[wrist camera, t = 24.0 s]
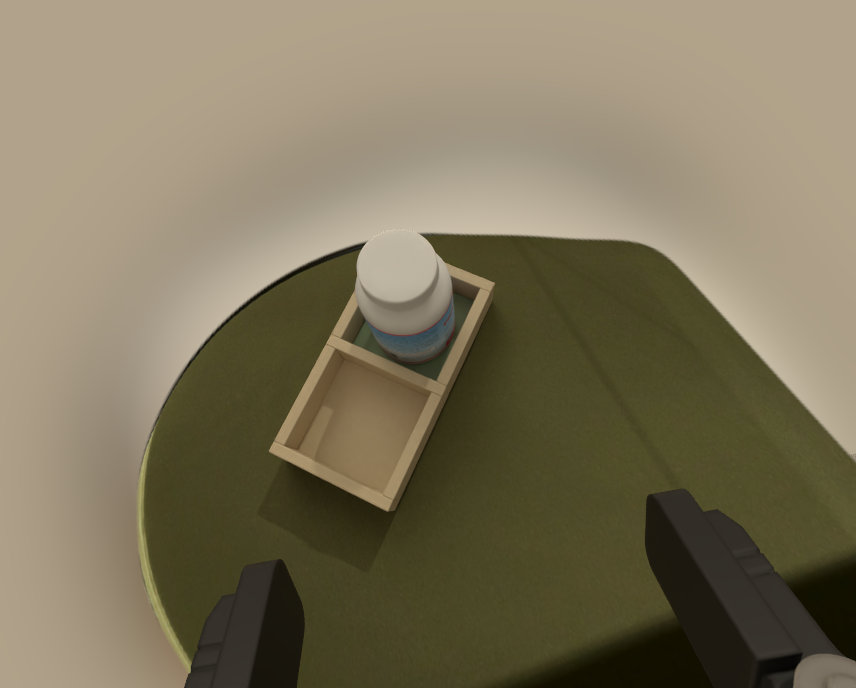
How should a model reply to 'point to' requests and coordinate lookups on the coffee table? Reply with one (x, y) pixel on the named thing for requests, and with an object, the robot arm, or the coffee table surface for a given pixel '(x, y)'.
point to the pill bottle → (405, 296)
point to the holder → (376, 402)
